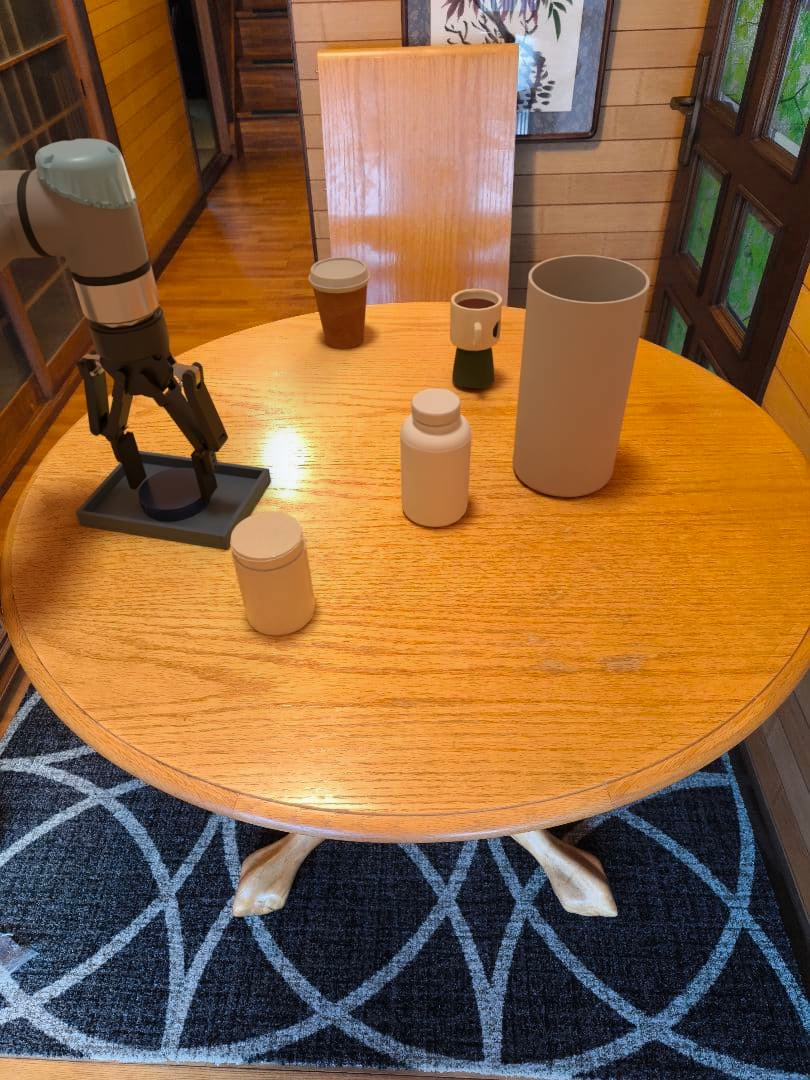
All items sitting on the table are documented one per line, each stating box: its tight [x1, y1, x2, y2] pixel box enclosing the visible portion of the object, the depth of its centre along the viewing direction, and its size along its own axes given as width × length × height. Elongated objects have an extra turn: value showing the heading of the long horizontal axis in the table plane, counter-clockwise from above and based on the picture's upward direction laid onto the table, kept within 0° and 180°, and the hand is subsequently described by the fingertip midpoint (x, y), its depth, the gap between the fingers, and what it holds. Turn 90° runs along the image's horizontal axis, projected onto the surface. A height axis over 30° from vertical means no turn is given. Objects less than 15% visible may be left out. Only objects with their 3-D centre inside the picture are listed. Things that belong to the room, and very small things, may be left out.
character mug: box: [449, 288, 503, 389], centre depth 109 cm, size 11×7×13 cm, turn 0°
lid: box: [139, 468, 211, 522], centre depth 93 cm, size 8×8×2 cm
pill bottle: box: [399, 387, 472, 528], centre depth 87 cm, size 8×8×15 cm
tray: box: [74, 450, 272, 550], centre depth 93 cm, size 19×13×2 cm
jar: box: [230, 511, 316, 636], centre depth 76 cm, size 7×7×11 cm
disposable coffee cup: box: [307, 256, 371, 350], centre depth 121 cm, size 10×10×12 cm
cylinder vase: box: [512, 254, 651, 498], centre depth 89 cm, size 12×12×25 cm
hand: (173, 487), depth 92 cm, fingers open, 9 cm apart
